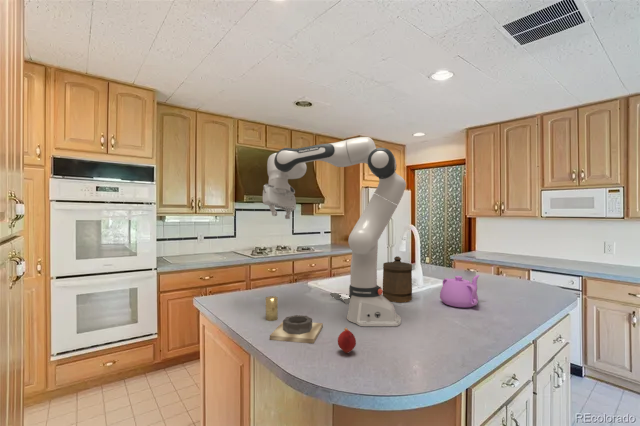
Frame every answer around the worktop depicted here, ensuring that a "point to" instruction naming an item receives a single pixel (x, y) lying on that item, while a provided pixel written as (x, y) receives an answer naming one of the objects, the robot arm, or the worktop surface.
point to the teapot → (459, 292)
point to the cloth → (337, 296)
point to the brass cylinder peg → (271, 308)
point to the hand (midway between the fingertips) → (281, 217)
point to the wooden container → (397, 281)
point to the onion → (346, 341)
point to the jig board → (297, 330)
